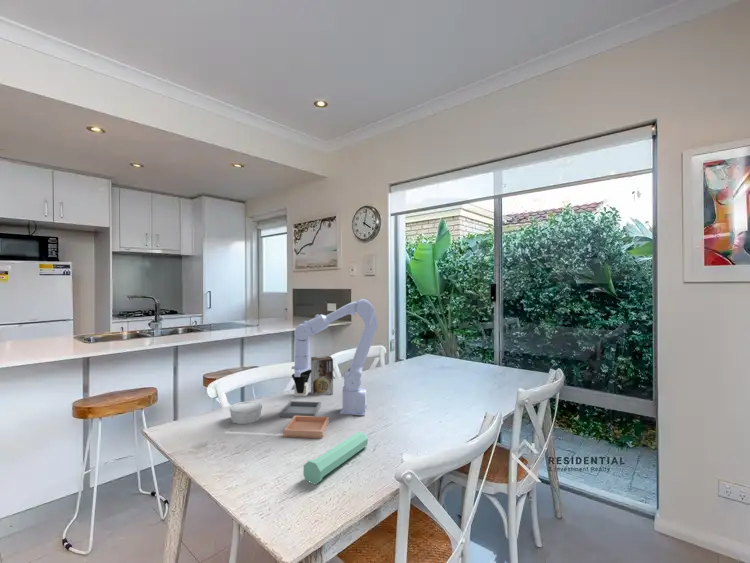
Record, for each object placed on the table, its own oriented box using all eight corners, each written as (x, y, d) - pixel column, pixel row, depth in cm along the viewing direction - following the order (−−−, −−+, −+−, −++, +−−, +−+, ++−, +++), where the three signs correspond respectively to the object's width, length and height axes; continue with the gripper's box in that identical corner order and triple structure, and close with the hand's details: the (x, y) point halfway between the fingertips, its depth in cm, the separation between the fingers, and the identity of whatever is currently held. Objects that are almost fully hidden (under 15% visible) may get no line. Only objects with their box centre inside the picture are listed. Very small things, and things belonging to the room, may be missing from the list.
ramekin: (253, 412, 139) (253, 398, 139) (267, 420, 131) (268, 406, 131) (224, 420, 131) (224, 405, 131) (237, 429, 123) (237, 414, 123)
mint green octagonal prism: (359, 424, 114) (307, 456, 93) (374, 436, 112) (324, 471, 90) (353, 440, 115) (299, 475, 94) (367, 451, 113) (316, 490, 91)
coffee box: (330, 390, 168) (330, 355, 168) (333, 394, 162) (333, 358, 161) (310, 392, 165) (310, 356, 165) (312, 396, 159) (313, 359, 159)
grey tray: (320, 407, 145) (321, 402, 145) (314, 419, 133) (314, 413, 133) (289, 406, 146) (290, 400, 146) (280, 418, 133) (280, 412, 133)
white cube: (308, 392, 141) (308, 382, 141) (305, 396, 137) (306, 385, 137) (297, 392, 142) (297, 382, 142) (294, 395, 137) (294, 385, 137)
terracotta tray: (329, 422, 130) (329, 416, 130) (322, 438, 117) (322, 431, 117) (294, 421, 131) (294, 415, 131) (283, 436, 118) (283, 430, 118)
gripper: (297, 351, 147) (296, 385, 147) (286, 359, 132) (285, 396, 132) (314, 351, 146) (313, 385, 146) (305, 359, 132) (305, 397, 132)
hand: (301, 390), depth 139 cm, fingers closed on white cube, 4 cm apart
